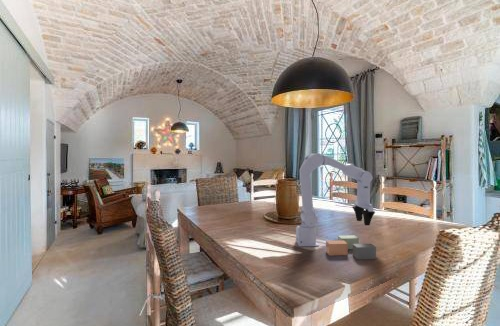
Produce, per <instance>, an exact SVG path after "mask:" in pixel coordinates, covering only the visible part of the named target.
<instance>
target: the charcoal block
mask: <svg viewBox="0 0 500 326" xmlns="http://www.w3.org/2000/svg"><path fill="white" fill-rule="evenodd" d="M352 256H353V257H354V259H356V260H376V259H377V246H375V245H374V244H373V243H359V244H353V249H352Z"/></svg>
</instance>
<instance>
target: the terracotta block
mask: <svg viewBox="0 0 500 326" xmlns="http://www.w3.org/2000/svg"><path fill="white" fill-rule="evenodd" d="M348 251H349V249H348V244H347V243H346V242H345V241H344V240H340V241H338V240H326V241H325V253H326V254H327V255H328V256H348V254H349V253H348Z"/></svg>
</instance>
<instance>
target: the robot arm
mask: <svg viewBox="0 0 500 326" xmlns="http://www.w3.org/2000/svg"><path fill="white" fill-rule="evenodd" d="M327 165H328V166H329V167H332V168H335V169H337V170H340V171H341V173H342V174H343V175H344V176H347V177H349V178H351V179H354V180H355V181H356V184H357V185H356V201H354V206H352V209H353V211H354V214H355V219H356V221H357V222H362V221H363V224H364V226H370V224H371V222H372V218H373V216H374V215H375V213H376V212H375V211H374V206H373V204H371V183H372V180H373V179H374V177H373V175H372V173H371V172H370V171H367V170H364V169H363V168H362V167H357V166H356V165H355V163H346V164H344V163H343V162H340V161H338V160H336V159H334V158H332V157H330V156H327V155H324V154H321V153H309V154H308V155H306V157H304V160H303V161H302V164H301V166H300V168H299V181H300V182H299V185H300V192H301V193H300V195H301V205H302V206H301V212H300V214H299V215H300V220H301V223H300V225H296V227H295V242H296V244H297V245H298V247H319V246H320V245H319V243H318V242H317V224H318V217H317V216H316V212H315V209H314V205H313V192H312V190H313V189H312V180H311V179H312V178H311V173H313V171H314V170H315V169H317V168H319V167H321V166H327Z"/></svg>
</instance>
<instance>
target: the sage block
mask: <svg viewBox="0 0 500 326" xmlns="http://www.w3.org/2000/svg"><path fill="white" fill-rule="evenodd" d="M359 239H360V238H359V237H357V236H356V235H354V234H353V235H348V234H347V235H337V241H340V240H344V241H345V242H346V243H347V244H348V250H353V244H360V243H359Z"/></svg>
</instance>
